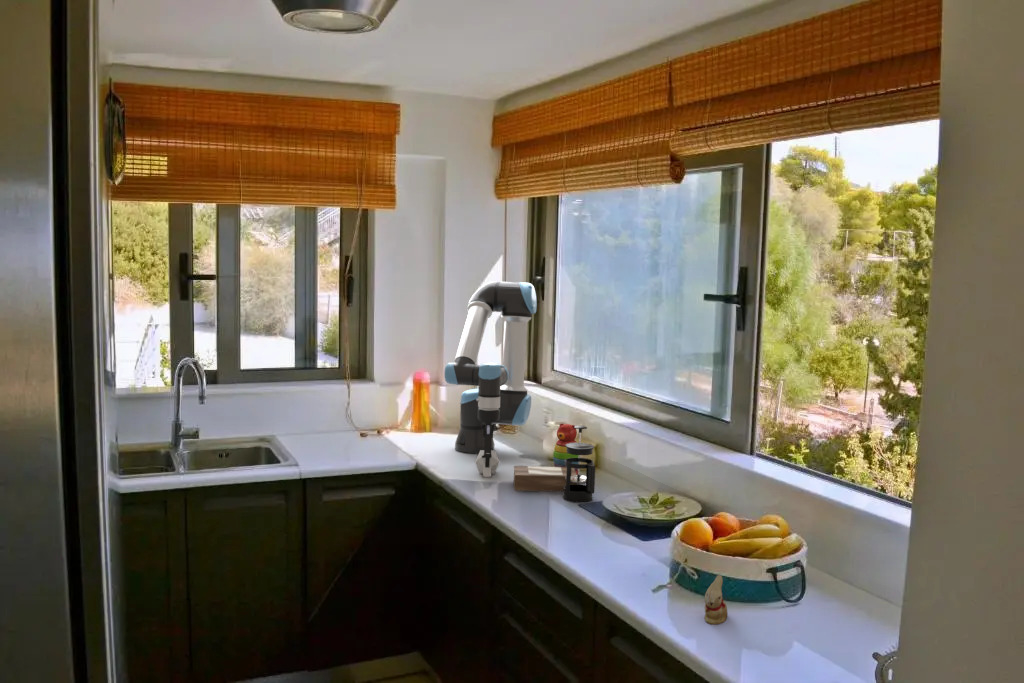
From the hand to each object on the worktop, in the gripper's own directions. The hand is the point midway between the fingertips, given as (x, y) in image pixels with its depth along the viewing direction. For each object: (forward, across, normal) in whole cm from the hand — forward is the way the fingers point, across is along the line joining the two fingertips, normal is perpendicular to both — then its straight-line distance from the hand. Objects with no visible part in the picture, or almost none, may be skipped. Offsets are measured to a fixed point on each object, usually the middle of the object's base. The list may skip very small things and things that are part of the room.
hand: (487, 472), depth 311 cm
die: (0, 0, 0) cm, 0 cm away
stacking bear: (0, 0, +27) cm, 27 cm away
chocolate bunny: (+1, +119, +50) cm, 129 cm away
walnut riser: (0, +15, +19) cm, 24 cm away
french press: (0, +29, +29) cm, 41 cm away
